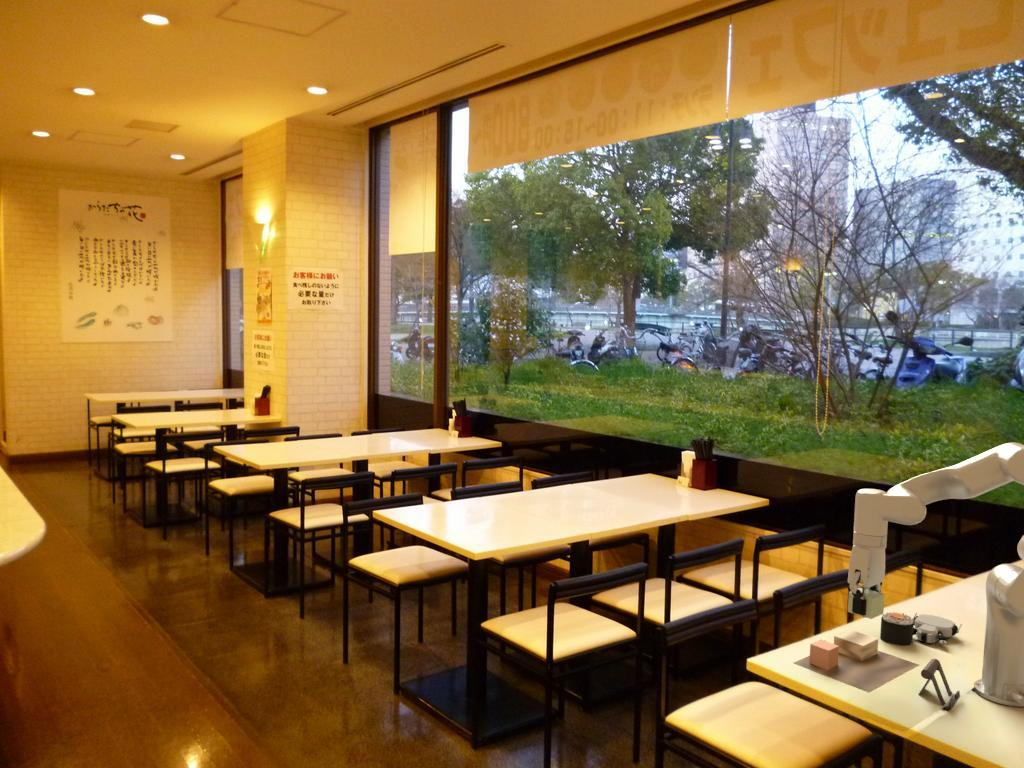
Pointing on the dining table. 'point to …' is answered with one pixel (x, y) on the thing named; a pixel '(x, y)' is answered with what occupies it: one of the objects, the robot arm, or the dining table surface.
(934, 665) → the portable electronic device stand
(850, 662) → the walnut board
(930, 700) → the dining table surface
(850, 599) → the green block
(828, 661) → the terracotta block
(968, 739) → the dining table surface
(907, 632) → the sushi
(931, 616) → the robot toy
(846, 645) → the birch base block
